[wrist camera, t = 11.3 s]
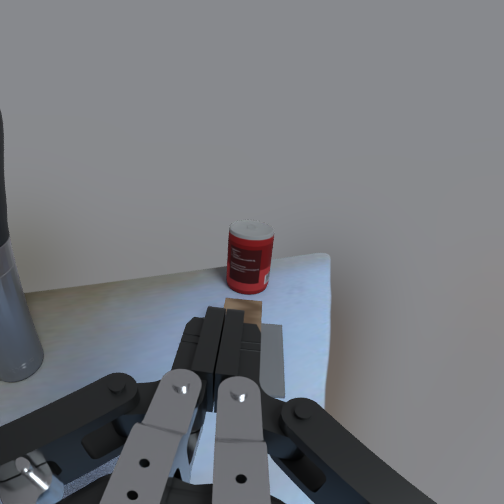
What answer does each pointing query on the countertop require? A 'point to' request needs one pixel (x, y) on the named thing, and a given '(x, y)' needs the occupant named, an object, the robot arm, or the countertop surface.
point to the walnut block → (246, 309)
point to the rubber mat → (272, 361)
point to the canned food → (249, 256)
